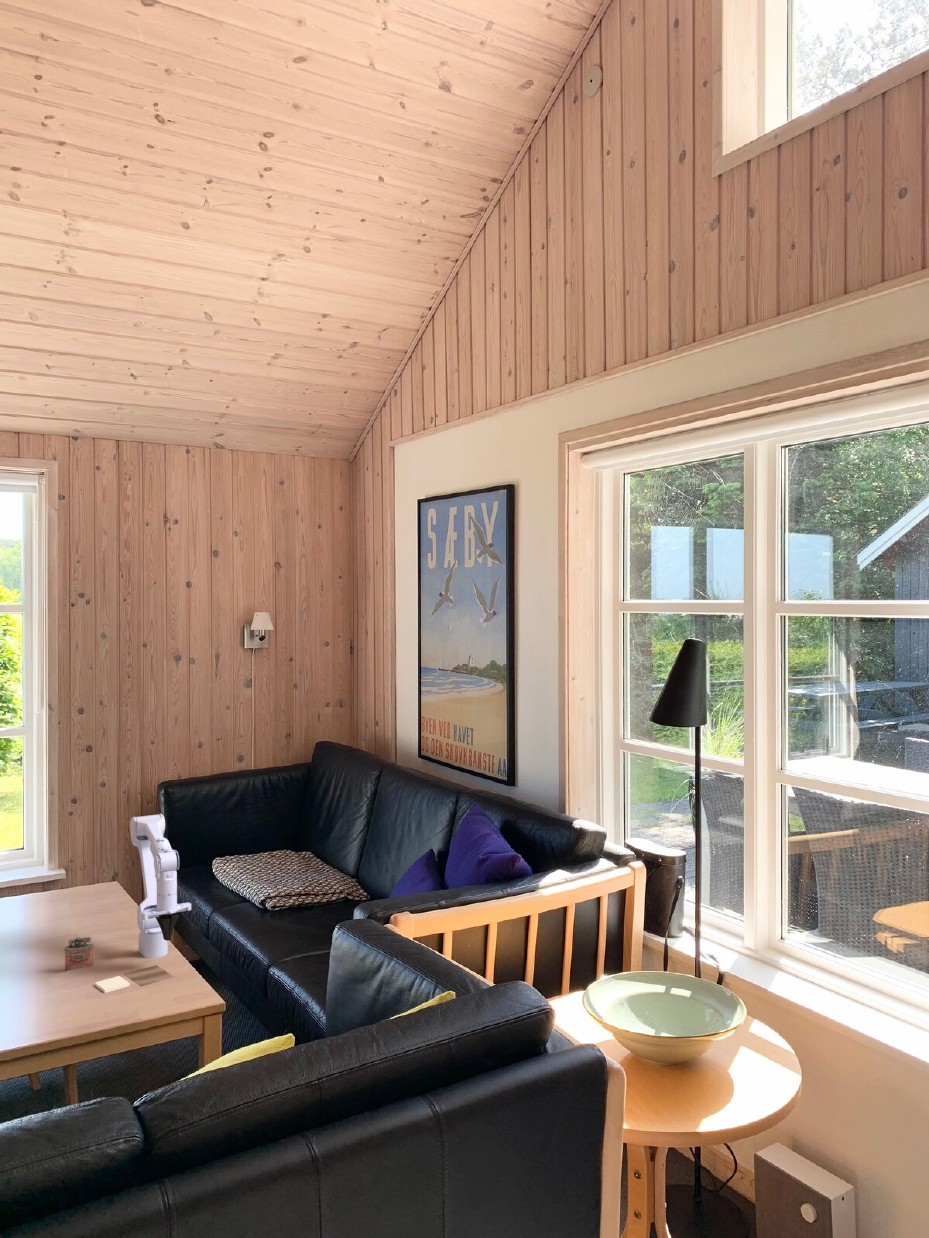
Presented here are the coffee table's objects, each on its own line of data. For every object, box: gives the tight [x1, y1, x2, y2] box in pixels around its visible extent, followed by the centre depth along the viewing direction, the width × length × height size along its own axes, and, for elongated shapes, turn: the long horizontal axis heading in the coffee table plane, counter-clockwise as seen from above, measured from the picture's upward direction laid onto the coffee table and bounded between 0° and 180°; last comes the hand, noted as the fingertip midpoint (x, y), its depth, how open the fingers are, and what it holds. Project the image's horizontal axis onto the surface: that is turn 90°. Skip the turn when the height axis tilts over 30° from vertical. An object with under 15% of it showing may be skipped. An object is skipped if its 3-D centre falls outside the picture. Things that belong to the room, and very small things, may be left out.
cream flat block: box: [94, 975, 131, 994], centre depth 262 cm, size 7×7×2 cm
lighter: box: [63, 936, 94, 972], centre depth 276 cm, size 8×3×10 cm, turn 105°
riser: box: [123, 964, 175, 987], centre depth 269 cm, size 12×10×2 cm
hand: (167, 939), depth 273 cm, fingers closed
